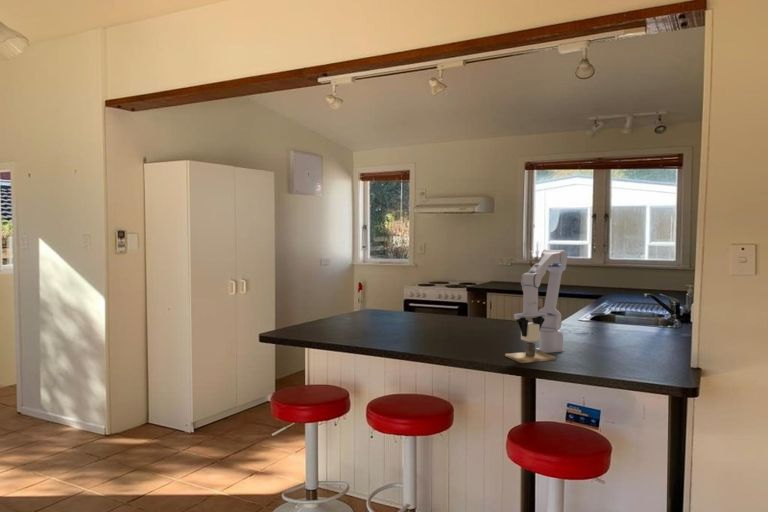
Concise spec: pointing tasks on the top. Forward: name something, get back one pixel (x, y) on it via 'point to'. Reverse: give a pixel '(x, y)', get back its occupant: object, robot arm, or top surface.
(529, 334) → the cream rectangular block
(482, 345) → the top surface
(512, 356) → the post board
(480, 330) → the top surface
